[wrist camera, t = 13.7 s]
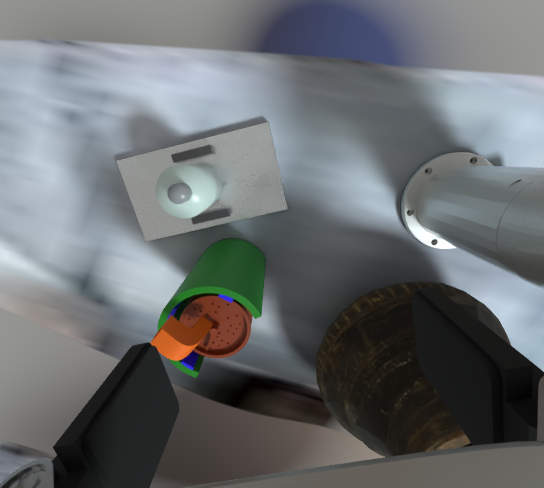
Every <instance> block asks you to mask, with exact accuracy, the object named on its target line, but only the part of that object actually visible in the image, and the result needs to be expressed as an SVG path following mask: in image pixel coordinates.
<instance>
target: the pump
mask: <svg viewBox="0 0 544 488" xmlns="http://www.w3.org/2000/svg"><path fill="white" fill-rule="evenodd" d="M222 191H223V183H222V179H221V177H220V175H219V173H218V172H217V171H216V170H215V169H214V168H212V167H211V166H208V165H205V164H188V165H175V166H171V167H169V168H167V169H166V170H164V171H163V172H162V173H161V175H160V176H159V178H158V180H157V183H156V196H157V199H158V202H159V203H160V205H161V207H162V208H163V209H164V210H165V211H166V212H167V213H169V214H170V215H172V216H174V217H177V218H182V219H187V218H192V217H195V216H197V215H198V214H200V213H201V212H203V211H204V210H206V209H207V208H209V207H210V206H211V205H213V204H214V203H216V202H217V201H218V200H219V198H220V197H221V194H222Z"/></svg>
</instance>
